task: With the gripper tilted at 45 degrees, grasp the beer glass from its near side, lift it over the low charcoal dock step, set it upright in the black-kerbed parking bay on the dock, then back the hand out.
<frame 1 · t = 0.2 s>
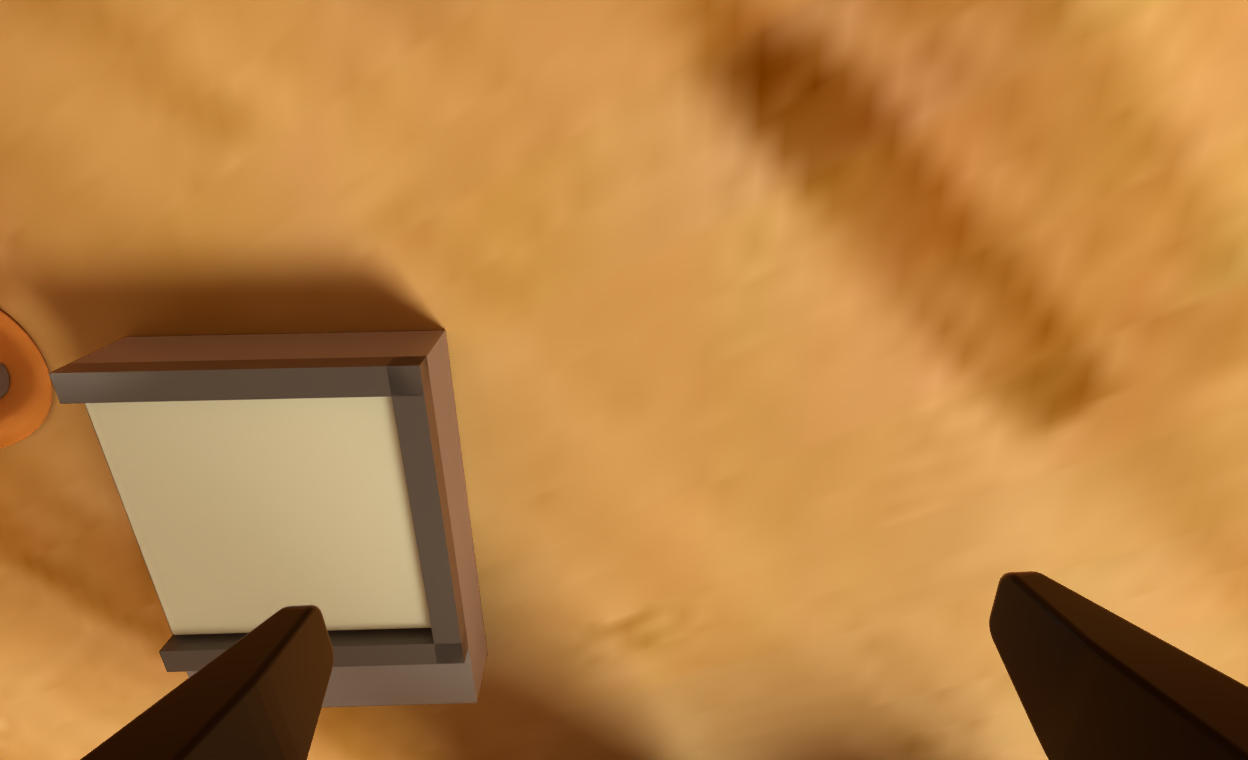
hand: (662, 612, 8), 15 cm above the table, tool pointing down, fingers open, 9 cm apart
dock: (328, 514, 25), on the table
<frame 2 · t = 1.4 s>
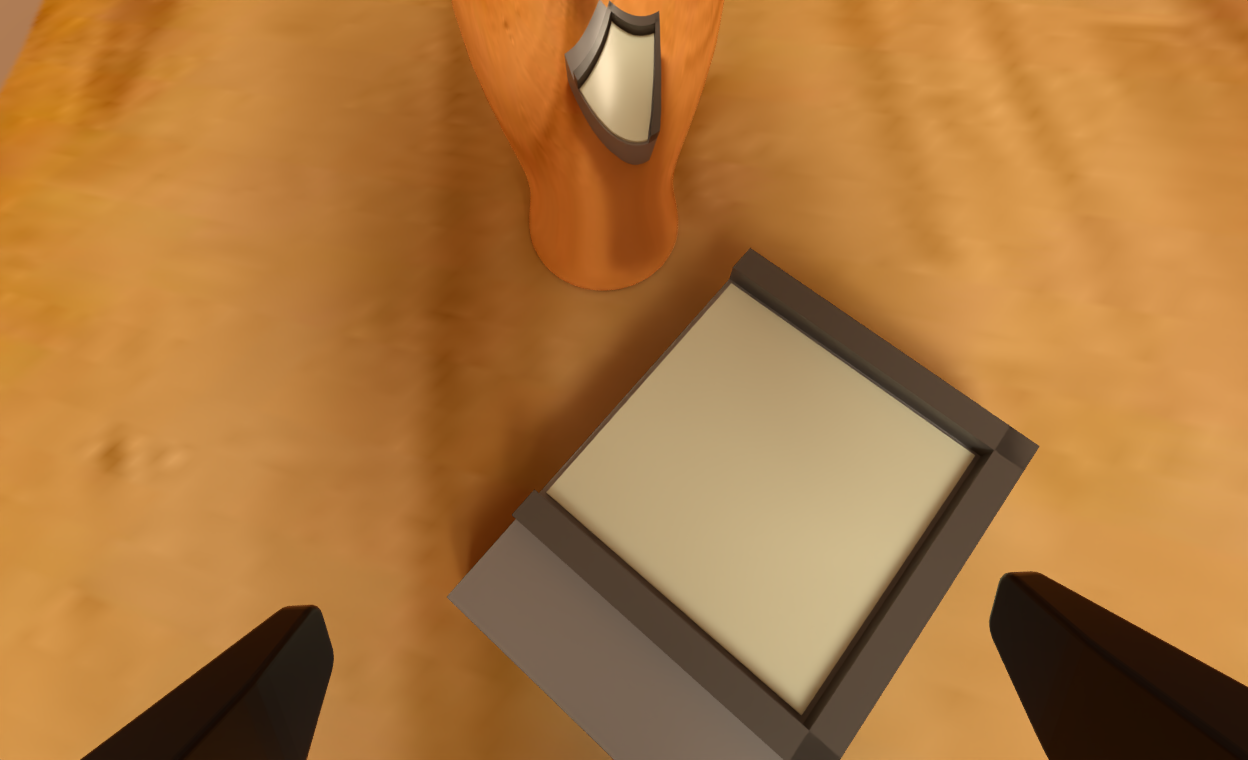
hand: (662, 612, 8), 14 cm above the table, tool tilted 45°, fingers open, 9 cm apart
dock: (733, 532, 22), on the table
beer glass: (604, 229, 27), on the table
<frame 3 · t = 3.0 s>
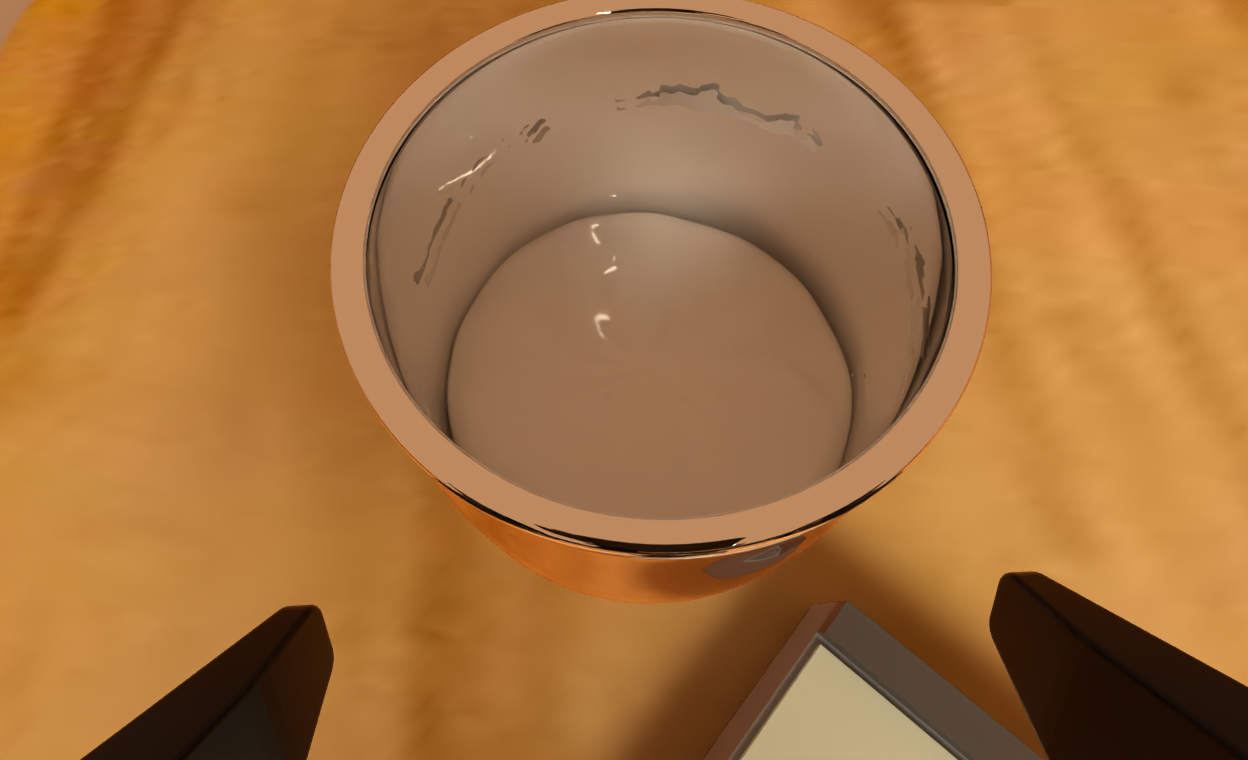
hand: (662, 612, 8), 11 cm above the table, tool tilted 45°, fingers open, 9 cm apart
beer glass: (638, 501, 20), on the table
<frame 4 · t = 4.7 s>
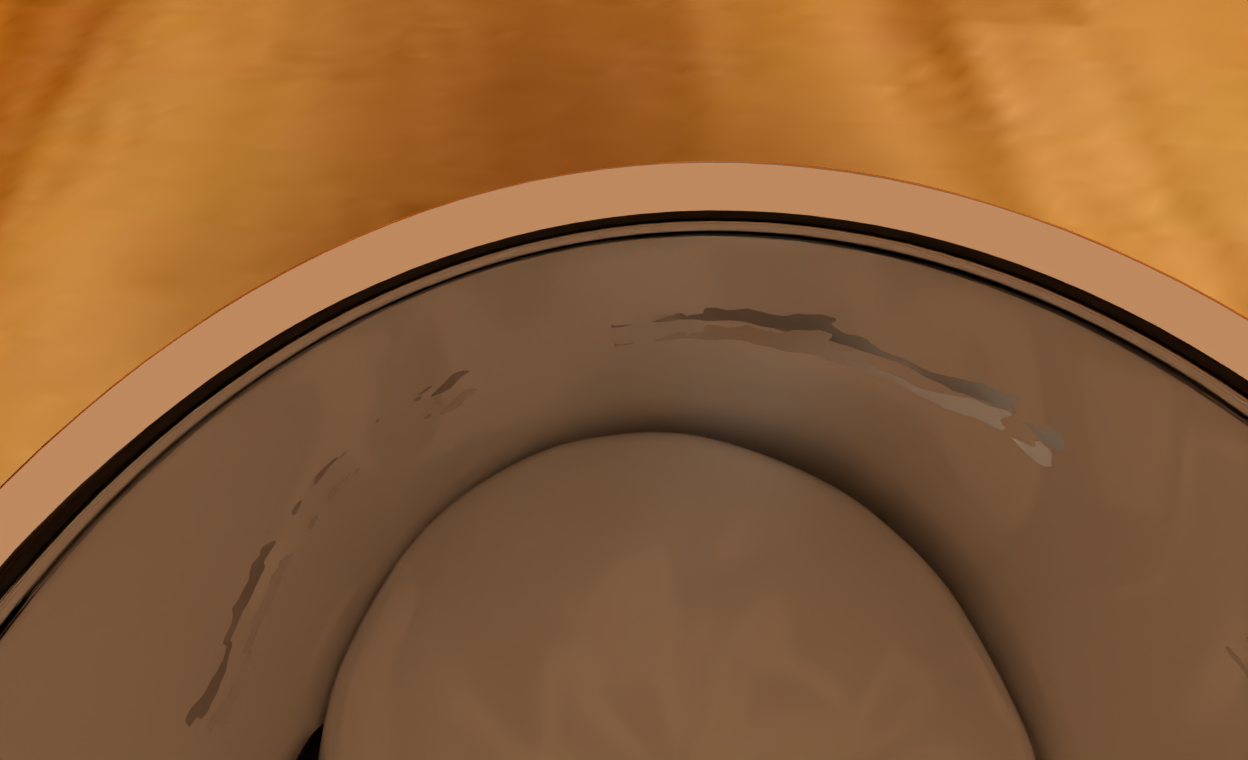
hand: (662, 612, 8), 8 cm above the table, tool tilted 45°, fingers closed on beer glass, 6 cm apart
beer glass: (646, 678, 16), on the table, touching gripper
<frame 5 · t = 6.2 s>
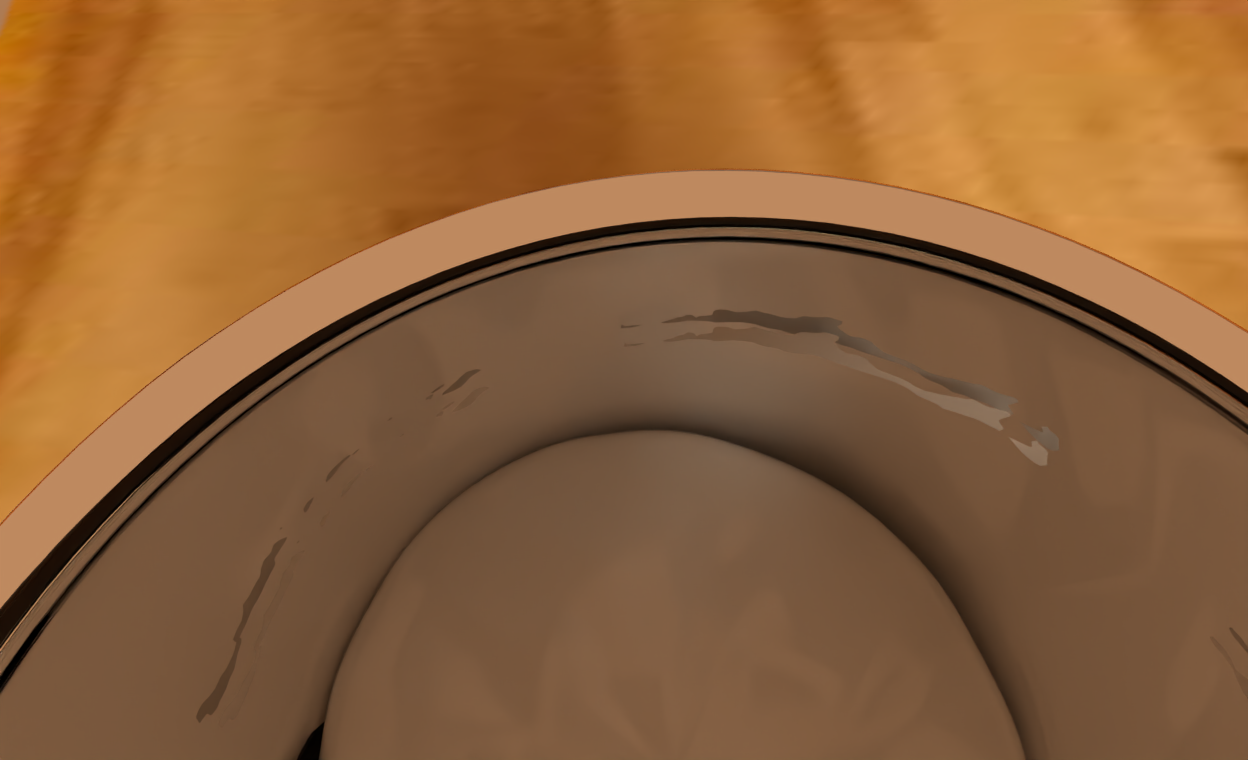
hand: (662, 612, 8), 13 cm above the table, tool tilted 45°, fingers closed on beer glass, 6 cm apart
beer glass: (634, 673, 16), point 5 cm above the table, touching gripper
when the fingers open (12 cm above the table, at t = 7.8 s): beer glass stays where it is, resting on dock.
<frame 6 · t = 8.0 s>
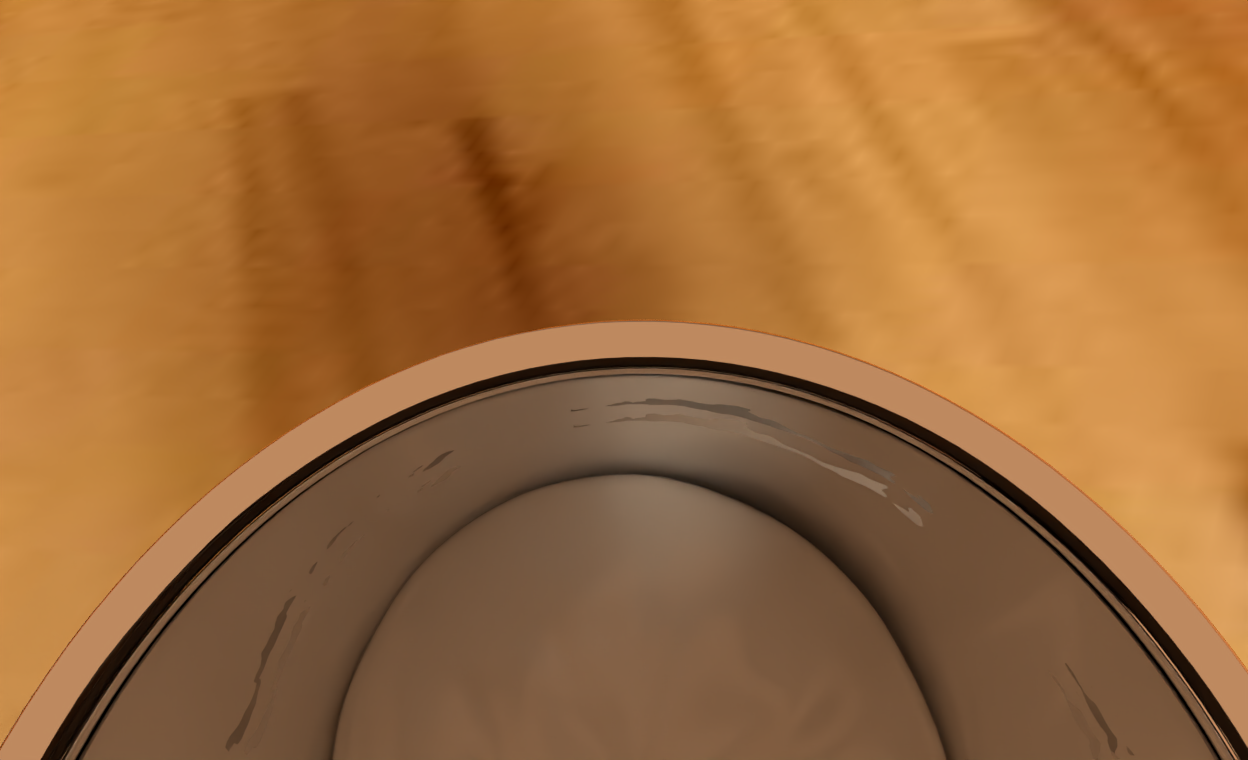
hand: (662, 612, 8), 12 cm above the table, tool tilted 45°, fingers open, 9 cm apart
beer glass: (631, 681, 17), point 3 cm above the table, touching dock
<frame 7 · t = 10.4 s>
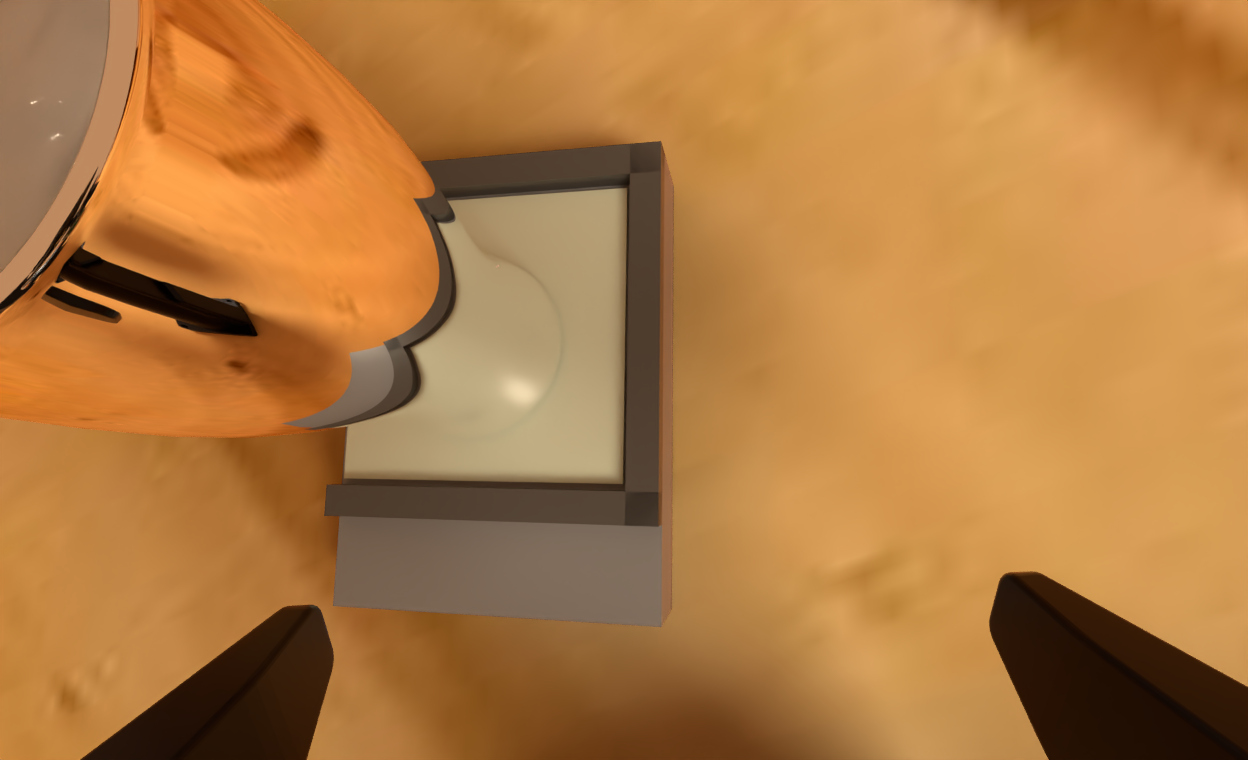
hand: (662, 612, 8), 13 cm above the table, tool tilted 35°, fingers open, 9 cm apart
dock: (524, 389, 24), on the table
beer glass: (477, 348, 21), point 3 cm above the table, touching dock
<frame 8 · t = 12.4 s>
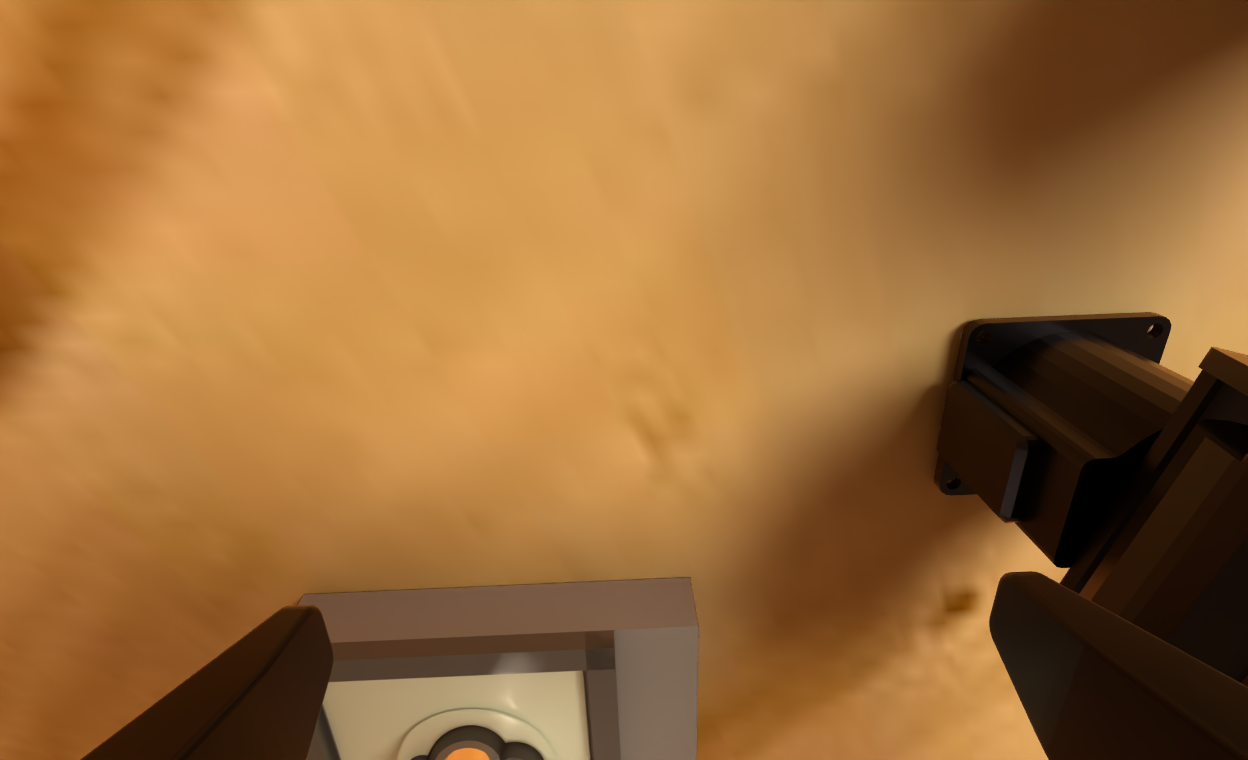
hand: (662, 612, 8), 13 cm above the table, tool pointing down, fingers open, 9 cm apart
dock: (512, 686, 27), on the table
beer glass: (478, 756, 25), point 3 cm above the table, touching dock
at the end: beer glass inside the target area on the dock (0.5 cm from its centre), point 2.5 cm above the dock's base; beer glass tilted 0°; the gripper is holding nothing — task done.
